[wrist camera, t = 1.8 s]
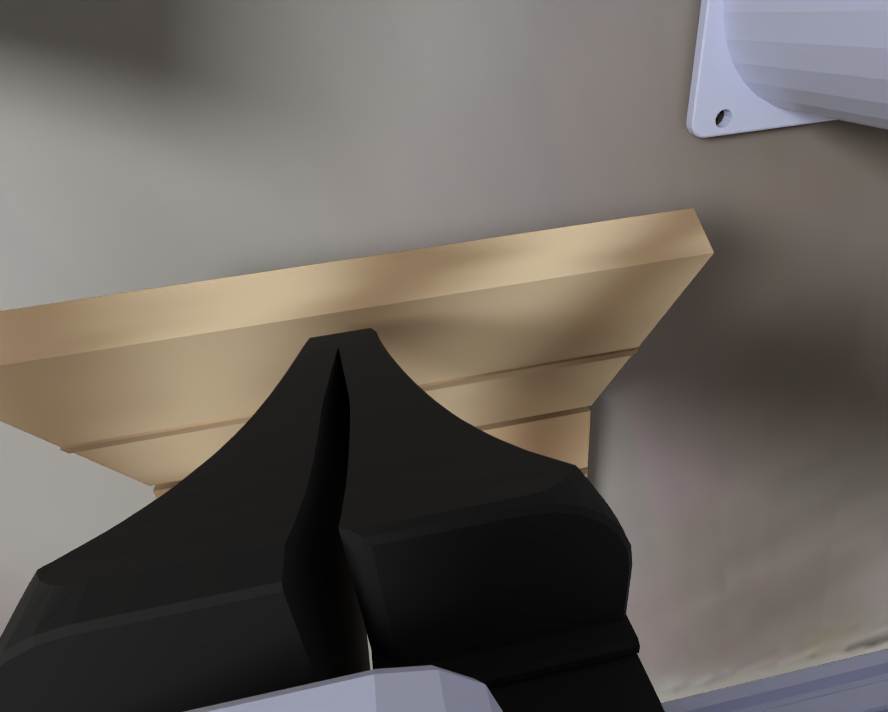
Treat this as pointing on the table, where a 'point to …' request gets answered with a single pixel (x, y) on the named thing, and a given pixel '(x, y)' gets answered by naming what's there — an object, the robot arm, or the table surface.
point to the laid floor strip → (529, 437)
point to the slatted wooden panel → (341, 310)
